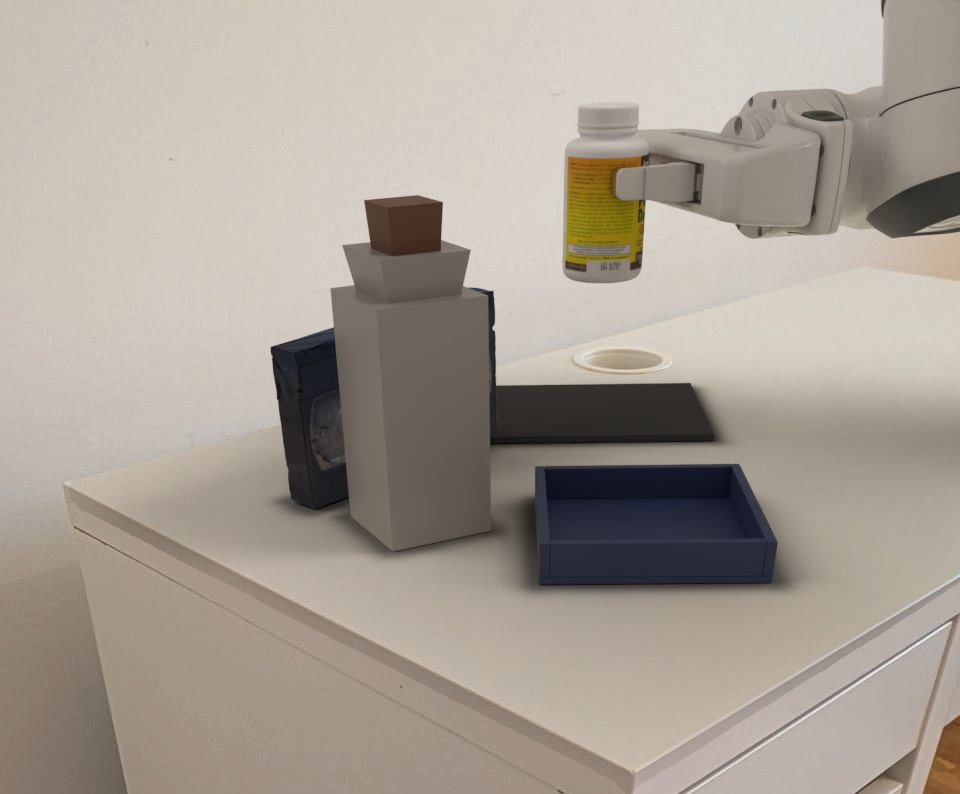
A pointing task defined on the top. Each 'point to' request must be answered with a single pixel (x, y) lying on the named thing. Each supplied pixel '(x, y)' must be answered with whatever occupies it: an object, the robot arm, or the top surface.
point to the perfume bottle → (413, 380)
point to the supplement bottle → (602, 196)
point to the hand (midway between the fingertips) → (593, 178)
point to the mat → (600, 413)
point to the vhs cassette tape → (328, 413)
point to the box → (650, 525)
